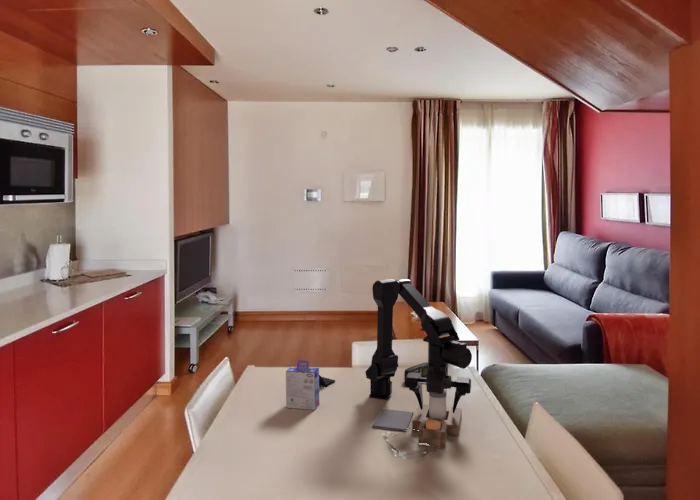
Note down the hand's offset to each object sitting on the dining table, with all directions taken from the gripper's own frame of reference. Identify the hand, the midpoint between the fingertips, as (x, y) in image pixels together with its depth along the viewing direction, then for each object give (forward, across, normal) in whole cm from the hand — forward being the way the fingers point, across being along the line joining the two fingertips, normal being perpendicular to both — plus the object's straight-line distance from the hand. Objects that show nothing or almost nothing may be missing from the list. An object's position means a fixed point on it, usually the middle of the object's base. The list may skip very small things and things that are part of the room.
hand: (437, 410), depth 147 cm
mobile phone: (+4, -11, +37) cm, 39 cm away
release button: (+3, 0, -11) cm, 11 cm away
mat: (+4, -13, -1) cm, 14 cm away
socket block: (+4, 0, -4) cm, 6 cm away
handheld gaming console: (+4, -46, +22) cm, 51 cm away
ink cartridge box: (+4, -43, +2) cm, 43 cm away
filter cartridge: (+4, 0, 0) cm, 4 cm away
